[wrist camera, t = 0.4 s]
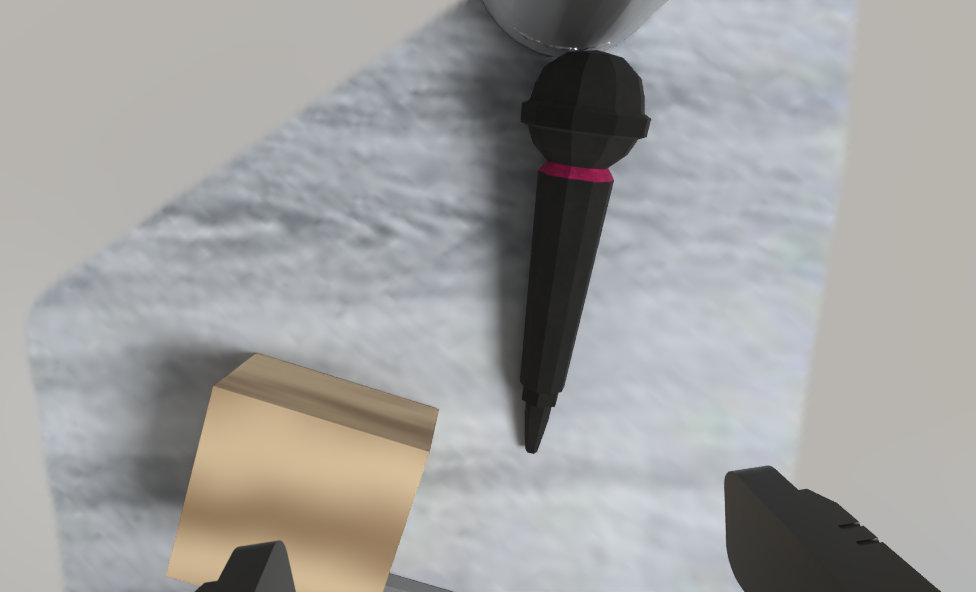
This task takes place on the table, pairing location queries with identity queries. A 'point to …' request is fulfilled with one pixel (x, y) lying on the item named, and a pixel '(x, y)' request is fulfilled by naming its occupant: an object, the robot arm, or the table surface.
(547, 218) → the microphone
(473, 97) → the table surface
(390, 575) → the coaster
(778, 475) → the robot arm
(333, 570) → the rest block
